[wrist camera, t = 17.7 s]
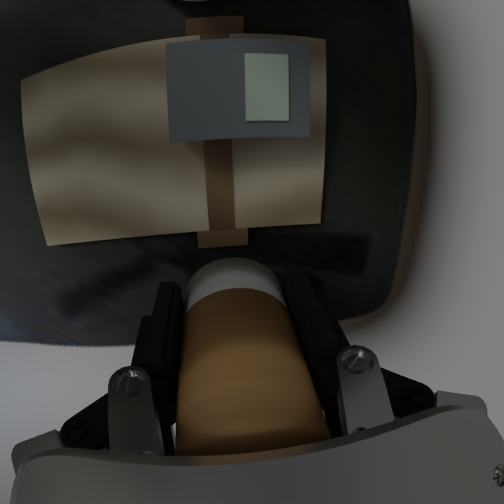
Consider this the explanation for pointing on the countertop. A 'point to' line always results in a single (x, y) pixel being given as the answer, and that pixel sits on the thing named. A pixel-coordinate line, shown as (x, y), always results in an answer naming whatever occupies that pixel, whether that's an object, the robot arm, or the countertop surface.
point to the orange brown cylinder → (242, 366)
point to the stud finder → (237, 89)
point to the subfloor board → (161, 152)
